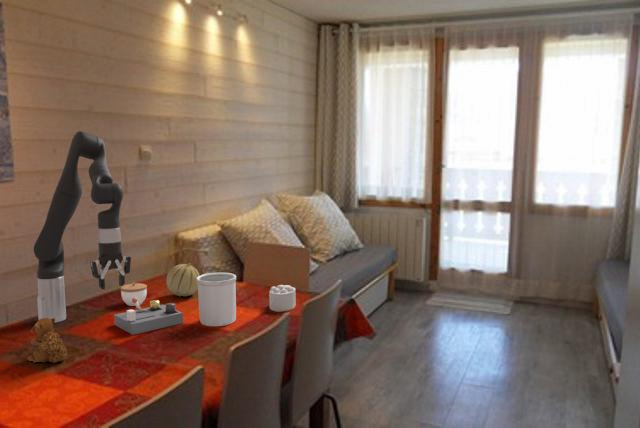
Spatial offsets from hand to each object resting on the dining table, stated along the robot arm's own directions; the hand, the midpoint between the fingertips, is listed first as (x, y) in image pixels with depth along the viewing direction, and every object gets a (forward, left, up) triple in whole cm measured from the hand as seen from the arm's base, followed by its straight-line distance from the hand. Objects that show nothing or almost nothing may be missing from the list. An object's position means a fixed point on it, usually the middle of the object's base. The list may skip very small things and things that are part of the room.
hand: (112, 287), depth 196 cm
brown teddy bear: (-24, -9, -18) cm, 31 cm away
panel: (+15, +4, -18) cm, 23 cm away
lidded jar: (+23, +35, -18) cm, 45 cm away
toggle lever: (+14, +9, -14) cm, 21 cm away
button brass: (+19, +8, -14) cm, 25 cm away
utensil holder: (+36, -11, -18) cm, 42 cm away
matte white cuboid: (+6, 0, -14) cm, 15 cm away
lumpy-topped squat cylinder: (+66, -13, -18) cm, 69 cm away
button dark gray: (+22, 0, -14) cm, 26 cm away
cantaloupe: (+45, +32, -18) cm, 58 cm away
